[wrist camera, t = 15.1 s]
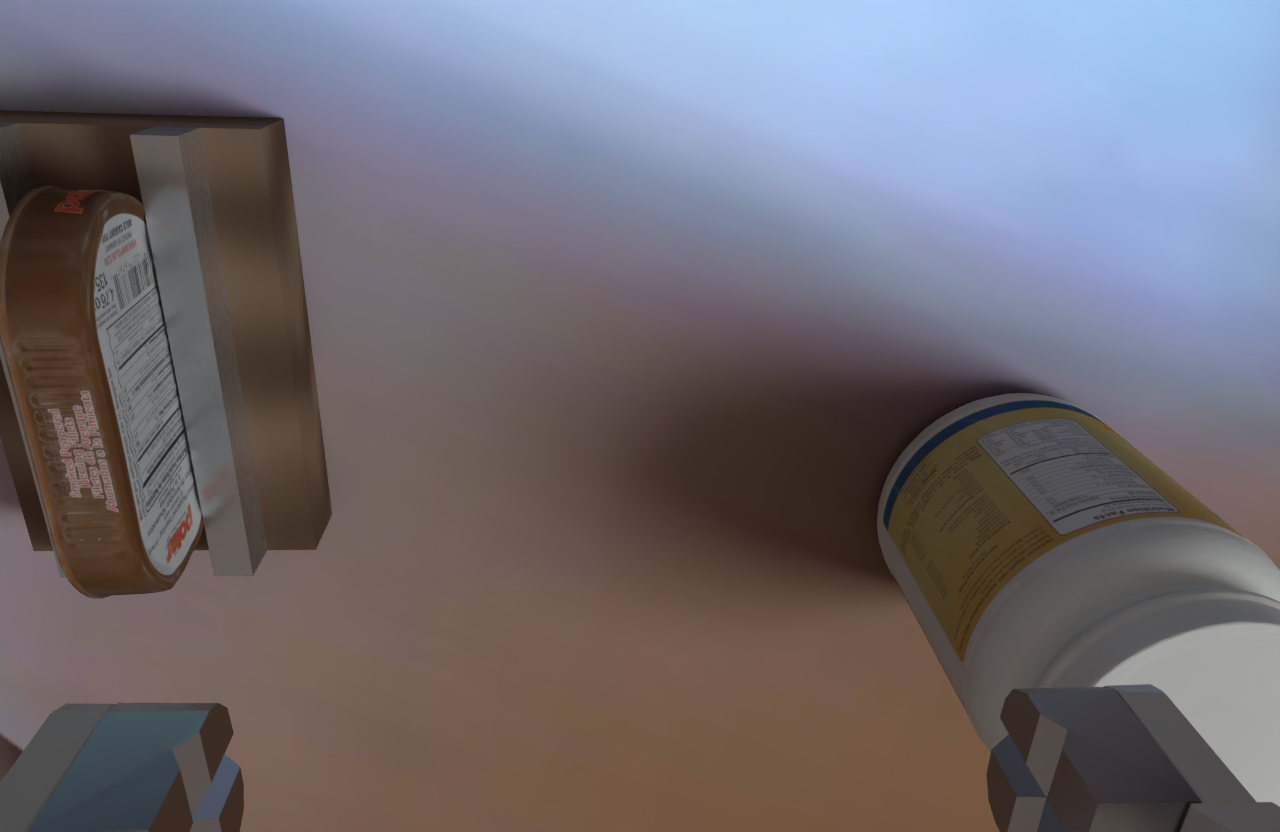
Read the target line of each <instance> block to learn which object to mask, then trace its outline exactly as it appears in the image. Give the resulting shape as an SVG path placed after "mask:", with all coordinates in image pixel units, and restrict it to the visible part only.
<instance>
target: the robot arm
mask: <svg viewBox="0 0 1280 832" xmlns="http://www.w3.org/2000/svg"><path fill="white" fill-rule="evenodd" d="M1000 719H1001V721H1002V722H1003V724H1004V726H1005V728H1006V729H1007V731H1008V733H1009V734H1008V735H1007V736H1006V737H1005V738H1004V739H1003V740H1002V741H1000V742H999V743H998V744H997V745H996V746H995V747H994V748H993V749H992V750H991V755H990V760H989V765H988V769H987V786H988V799H989V803H990V806H991V810H992V813H993V817H994V820H995V822H996V824H997V826H998V829H999V831H1000V832H1280V807H1279V806H1278V805H1276V804H1274V803H1273V802H1256V801H1255V799H1254V798H1253V797H1252V796H1251V795H1250V793H1249V792H1248V791H1247V790H1246V789H1245V787H1244V786H1243V785H1242V784H1241V783H1240V782H1239V780H1238V779H1237V778H1236V777H1235V776H1234V774H1233V773H1232V772H1231V771H1230V770H1229V768H1228V767H1227V766H1226V765H1225V764H1224V763H1223V761H1222V760H1221V759H1220V758H1219V757H1218V755H1217V754H1216V753H1215V752H1214V751H1213V749H1212V748H1211V747H1210V746H1209V745H1208V744H1207V742H1206V741H1205V740H1204V739H1203V738H1202V736H1201V735H1200V734H1199V733H1198V732H1197V730H1196V729H1195V728H1194V727H1193V726H1192V725H1191V723H1190V722H1189V721H1188V720H1187V719H1186V717H1185V716H1184V715H1183V714H1182V713H1181V711H1180V710H1179V709H1178V708H1177V707H1176V706H1175V704H1174V703H1173V702H1172V701H1171V700H1170V698H1169V697H1168V696H1167V695H1166V694H1165V693H1164V692H1163V691H1162V690H1160V689H1158V688H1157V687H1155V686H1153V685H1151V684H1141V685H1113V686H1104V687H1066V688H1028V689H1012V691H1011V692H1010V693H1009V695H1008V696H1007V697H1006V698H1005V701H1004V704H1003V708H1002V711H1001V715H1000ZM232 736H233V729H232V725H231V721H230V716H229V712H228V708H226V707H225V706H223V705H221V704H219V703H118V704H68V703H67V704H65V705H63V706H62V707H60V708H58V709H57V710H55V711H53V712H52V713H51V714H50V715H49V717H48V718H47V719H46V721H45V722H44V724H43V725H42V726H41V728H40V729H39V730H38V732H37V733H36V735H35V736H34V737H33V739H32V740H31V741H30V743H29V744H28V746H27V747H26V748H25V750H24V751H23V752H22V754H21V755H20V757H19V758H18V759H17V761H16V762H15V764H14V765H13V766H12V768H11V769H10V770H9V772H8V773H7V775H6V776H5V777H4V779H3V780H2V781H1V783H0V832H240V827H241V821H242V816H243V810H244V785H243V779H242V774H241V768H240V766H239V765H238V764H237V763H235V762H234V761H233V760H232V759H231V758H230V757H228V756H227V755H226V754H225V751H226V749H227V747H228V745H229V742H230V740H231V738H232Z"/></svg>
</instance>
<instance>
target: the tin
mask: <svg viewBox="0 0 1280 832" xmlns="http://www.w3.org/2000/svg"><path fill="white" fill-rule="evenodd" d="M0 340H1V345H2V349H3V353H4V357H5V361H6V365H7V368H8V372H9V376H10V380H11V383H12V387H13V390H14V394H15V398H16V402H17V406H18V410H19V414H20V417H21V422H22V425H23V428H24V433H25V437H26V440H27V444H28V447H29V451H30V455H31V459H32V463H33V467H34V471H35V475H36V478H37V482H38V485H39V490H40V494H41V499H42V503H43V506H44V509H45V513H46V517H47V521H48V525H49V529H50V534H51V538H52V542H53V545H54V548H55V551H56V555H57V558H58V561H59V563H60V566H61V568H62V570H63V572H64V573H65V575H66V577H67V578H68V580H69V582H70V583H71V584H72V585H73V586H74V587H75V588H76V589H77V590H78V591H79V592H80V593H82V594H83V595H85V596H87V597H90V598H105V597H108V596H111V595H126V594H145V593H155V592H162V591H165V590H169V589H171V588H172V587H173V586H174V585H175V583H176V582H177V580H178V579H179V578H180V576H181V574H182V573H183V571H184V569H185V567H186V565H187V563H188V561H189V558H190V556H191V554H192V552H193V551H194V549H195V547H196V545H197V543H198V541H199V539H200V536H201V533H202V529H203V523H204V521H203V516H202V510H201V505H200V500H199V495H198V490H197V484H196V479H195V474H194V469H193V463H192V458H191V453H190V448H189V442H188V437H187V432H186V427H185V422H184V416H183V411H182V406H181V401H180V395H179V390H178V385H177V380H176V374H175V369H174V364H173V359H172V354H171V348H170V343H169V338H168V333H167V327H166V322H165V317H164V312H163V306H162V301H161V296H160V291H159V286H158V280H157V275H156V270H155V265H154V259H153V254H152V249H151V244H150V238H149V233H148V228H147V223H146V218H145V212H144V207H143V204H142V203H141V202H140V201H139V200H137V199H136V198H134V197H132V196H130V195H128V194H125V193H121V192H114V191H106V190H64V189H61V188H58V187H54V186H44V187H39V188H36V189H34V190H32V191H30V192H29V193H28V194H26V195H25V196H24V197H23V198H22V199H21V200H20V201H19V202H18V204H17V205H16V206H15V208H14V210H13V212H12V213H11V215H10V217H9V220H8V222H7V224H6V226H5V229H4V232H3V235H2V238H1V242H0Z"/></svg>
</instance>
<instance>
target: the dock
mask: <svg viewBox="0 0 1280 832" xmlns="http://www.w3.org/2000/svg"><path fill="white" fill-rule="evenodd" d="M44 186H54V187H58V188H61V189H64V190H106V191H114V192H121V193H125V194H128V195H130V196H132V197H134V198H136V199H137V200H139V201H140V202H141V203H142V204H143V207H144V212H145V218H146V223H147V228H148V233H149V238H150V244H151V249H152V254H153V259H154V265H155V270H156V275H157V280H158V286H159V291H160V296H161V301H162V306H163V312H164V317H165V322H166V327H167V333H168V338H169V343H170V348H171V354H172V359H173V364H174V369H175V374H176V380H177V385H178V390H179V395H180V401H181V406H182V411H183V416H184V422H185V427H186V432H187V437H188V442H189V448H190V453H191V458H192V463H193V469H194V474H195V479H196V484H197V490H198V495H199V500H200V505H201V510H202V516H203V521H204V523H203V529H202V533H201V536H200V539H199V541H198V543H197V545H196V547H195V549H194V550H209V552H210V558H211V563H212V568H213V573H214V576H253V575H254V573H255V571H256V570H257V568H258V566H259V564H260V562H261V560H262V559H263V557H264V555H265V553H266V551H267V550H316V548H317V546H318V544H319V542H320V539H321V537H322V535H323V533H324V531H325V529H326V526H327V524H328V522H329V520H330V518H331V515H332V511H331V503H330V494H329V486H328V478H327V470H326V462H325V454H324V445H323V437H322V429H321V421H320V413H319V405H318V396H317V388H316V380H315V372H314V364H313V356H312V347H311V339H310V331H309V323H308V315H307V307H306V298H305V290H304V282H303V274H302V266H301V258H300V249H299V241H298V233H297V225H296V217H295V209H294V200H293V192H292V184H291V176H290V168H289V160H288V151H287V143H286V135H285V127H284V119H282V118H246V117H210V116H174V115H138V114H102V113H66V112H30V111H0V242H1V238H2V235H3V232H4V229H5V226H6V224H7V222H8V220H9V217H10V215H11V213H12V212H13V210H14V208H15V206H16V205H17V204H18V202H19V201H20V200H21V199H22V198H23V197H24V196H25V195H26V194H28V193H29V192H30V191H32V190H34V189H36V188H39V187H44ZM0 435H1V438H2V442H3V445H4V449H5V452H6V456H7V459H8V463H9V466H10V470H11V473H12V477H13V480H14V484H15V487H16V491H17V494H18V498H19V501H20V505H21V508H22V512H23V515H24V519H25V522H26V526H27V529H28V533H29V536H30V540H31V543H32V547H33V550H34V551H54V554H55V558H56V561H57V565H58V569H59V572H60V576H61V577H66V575H65V573H64V572H63V570H62V568H61V566H60V563H59V561H58V558H57V555H56V551H55V548H54V545H53V542H52V538H51V534H50V529H49V525H48V521H47V517H46V513H45V509H44V506H43V503H42V499H41V494H40V490H39V485H38V482H37V478H36V475H35V471H34V467H33V463H32V459H31V455H30V451H29V447H28V444H27V440H26V437H25V433H24V428H23V425H22V422H21V417H20V414H19V410H18V406H17V402H16V398H15V394H14V390H13V387H12V383H11V380H10V376H9V372H8V368H7V365H6V361H5V357H4V353H3V349H2V345H1V340H0Z"/></svg>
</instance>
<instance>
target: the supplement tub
mask: <svg viewBox="0 0 1280 832" xmlns="http://www.w3.org/2000/svg"><path fill="white" fill-rule="evenodd" d="M877 532H878V538H879V544H880V547H881V550H882V553H883V557H884V559H885V562H886V564H887V566H888V568H889V570H890V572H891V573H892V575H893V576H894V578H895V579H896V581H897V583H898V585H899V587H900V589H901V591H902V593H903V594H904V596H905V598H906V600H907V602H908V604H909V606H910V608H911V610H912V612H913V613H914V615H915V617H916V619H917V621H918V623H919V624H920V626H921V628H922V630H923V632H924V634H925V635H926V637H927V639H928V641H929V643H930V645H931V647H932V648H933V650H934V652H935V654H936V656H937V658H938V660H939V661H940V663H941V665H942V667H943V669H944V671H945V673H946V675H947V676H948V678H949V680H950V682H951V684H952V686H953V688H954V689H955V691H956V693H957V695H958V697H959V699H960V701H961V702H962V704H963V706H964V708H965V710H966V712H967V714H968V715H969V718H970V720H971V722H972V725H973V727H974V729H975V730H976V732H977V734H978V736H979V737H980V739H981V740H982V741H983V742H984V743H985V745H986V746H987V748H988V749H989V750H990V751H991V750H992V749H993V748H994V747H995V746H996V745H997V744H998V743H999V742H1000V741H1002V740H1003V739H1004V738H1005V737H1006V736H1007V735H1008V734H1009V733H1008V731H1007V729H1006V728H1005V726H1004V724H1003V722H1002V721H1001V719H1000V715H1001V711H1002V708H1003V704H1004V701H1005V698H1006V697H1007V696H1008V695H1009V693H1010V692H1011V691H1012V689H1028V688H1066V687H1104V686H1113V685H1141V684H1151V685H1153V686H1155V687H1157V688H1158V689H1160V690H1162V691H1163V692H1164V693H1165V694H1166V695H1167V696H1168V697H1169V698H1170V700H1171V701H1172V702H1173V703H1174V704H1175V706H1176V707H1177V708H1178V709H1179V710H1180V711H1181V713H1182V714H1183V715H1184V716H1185V717H1186V719H1187V720H1188V721H1189V722H1190V723H1191V725H1192V726H1193V727H1194V728H1195V729H1196V730H1197V732H1198V733H1199V734H1200V735H1201V736H1202V738H1203V739H1204V740H1205V741H1206V742H1207V744H1208V745H1209V746H1210V747H1211V748H1212V749H1213V751H1214V752H1215V753H1216V754H1217V755H1218V757H1219V758H1220V759H1221V760H1222V761H1223V763H1224V764H1225V765H1226V766H1227V767H1228V768H1229V770H1230V771H1231V772H1232V773H1233V774H1234V776H1235V777H1236V778H1237V779H1238V780H1239V782H1240V783H1241V784H1242V785H1243V786H1244V787H1245V789H1246V790H1247V791H1248V792H1249V793H1250V795H1251V796H1252V797H1253V798H1254V799H1255V801H1256V802H1273V803H1274V804H1276V805H1278V806H1279V807H1280V570H1279V569H1278V568H1277V567H1276V566H1275V564H1274V563H1273V562H1272V561H1271V560H1270V559H1269V557H1268V556H1267V555H1266V554H1265V553H1264V552H1263V551H1262V550H1261V549H1259V548H1258V547H1257V546H1256V545H1254V544H1253V543H1252V542H1250V541H1249V540H1247V539H1245V538H1244V537H1243V536H1242V535H1240V534H1239V533H1238V532H1237V531H1235V530H1234V529H1233V528H1232V527H1231V526H1229V525H1228V524H1227V523H1226V522H1224V521H1223V520H1222V519H1221V518H1220V517H1218V516H1217V515H1216V514H1215V513H1214V512H1212V511H1211V510H1210V509H1209V508H1208V507H1206V506H1205V505H1204V504H1203V503H1201V502H1200V501H1199V500H1198V499H1197V498H1195V497H1194V496H1193V495H1192V494H1191V493H1189V492H1188V491H1187V490H1186V489H1184V488H1183V487H1182V486H1181V485H1179V484H1178V483H1177V482H1176V481H1175V480H1173V479H1172V478H1171V477H1170V476H1168V475H1167V474H1166V473H1165V472H1164V471H1162V470H1161V469H1160V468H1159V467H1158V466H1156V465H1155V464H1154V463H1153V462H1151V461H1150V460H1149V459H1148V458H1147V457H1145V456H1144V455H1143V454H1142V453H1140V452H1139V451H1138V450H1137V449H1135V448H1134V447H1133V446H1132V445H1130V444H1129V443H1128V442H1127V441H1126V440H1124V439H1123V438H1122V437H1121V436H1120V435H1118V434H1117V433H1116V432H1115V431H1113V430H1112V429H1111V428H1110V427H1109V426H1108V425H1107V424H1106V423H1105V422H1104V421H1102V420H1101V419H1100V418H1099V417H1097V416H1096V415H1094V414H1093V413H1092V412H1090V411H1088V410H1087V409H1085V408H1083V407H1081V406H1079V405H1076V404H1074V403H1071V402H1068V401H1065V400H1062V399H1059V398H1056V397H1051V396H1047V395H1041V394H1032V393H1012V394H1003V395H997V396H992V397H987V398H983V399H979V400H976V401H973V402H970V403H968V404H966V405H963V406H961V407H959V408H957V409H955V410H953V411H951V412H949V413H947V414H945V415H944V416H942V417H941V418H939V419H937V420H936V421H935V422H933V423H932V424H931V425H929V426H928V427H927V428H926V429H924V430H923V431H922V432H921V433H920V434H919V435H918V436H917V437H916V438H915V439H914V440H913V441H912V442H911V443H910V444H909V445H908V446H907V448H906V449H905V450H904V451H903V452H902V454H901V455H900V456H899V458H898V459H897V461H896V462H895V464H894V465H893V467H892V469H891V471H890V473H889V475H888V476H887V479H886V481H885V484H884V487H883V490H882V493H881V497H880V501H879V506H878V515H877Z"/></svg>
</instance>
